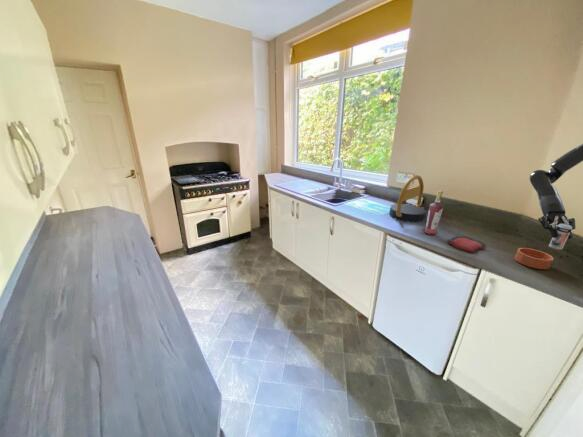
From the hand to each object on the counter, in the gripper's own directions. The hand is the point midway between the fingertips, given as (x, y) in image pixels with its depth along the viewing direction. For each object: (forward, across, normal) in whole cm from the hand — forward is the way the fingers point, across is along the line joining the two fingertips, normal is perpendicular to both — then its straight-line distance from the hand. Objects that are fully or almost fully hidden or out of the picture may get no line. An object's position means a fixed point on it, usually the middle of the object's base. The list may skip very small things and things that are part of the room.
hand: (562, 237), depth 110 cm
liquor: (-10, -45, +32) cm, 56 cm away
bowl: (+10, -8, +11) cm, 17 cm away
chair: (-31, -51, +53) cm, 80 cm away
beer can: (+3, 0, +5) cm, 6 cm away
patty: (0, -31, +21) cm, 37 cm away
